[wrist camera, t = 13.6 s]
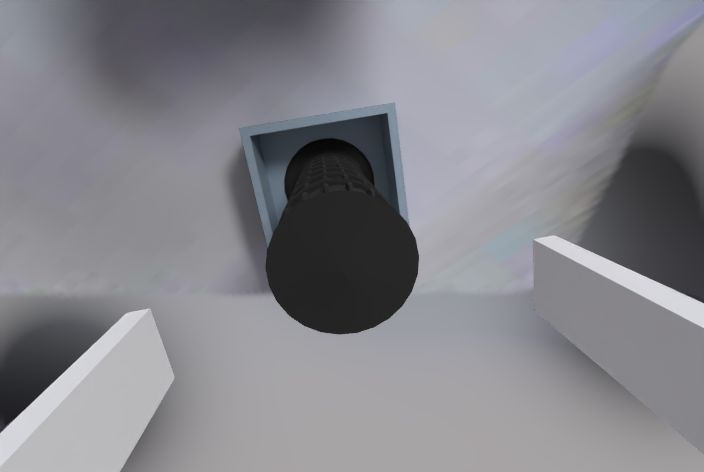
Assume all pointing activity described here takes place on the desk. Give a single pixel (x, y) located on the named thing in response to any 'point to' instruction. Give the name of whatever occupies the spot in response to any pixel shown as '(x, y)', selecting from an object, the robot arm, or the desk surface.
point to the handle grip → (339, 243)
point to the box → (289, 136)
